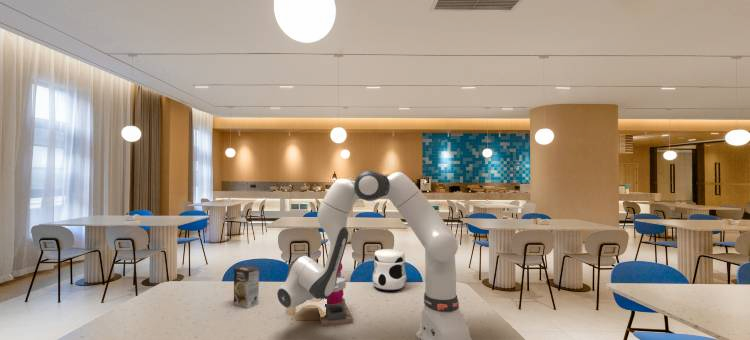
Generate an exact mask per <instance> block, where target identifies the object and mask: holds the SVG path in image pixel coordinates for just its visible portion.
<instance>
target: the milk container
mask: <svg viewBox="0 0 750 340" xmlns="http://www.w3.org/2000/svg"><path fill="white" fill-rule="evenodd" d="M373 264H374V270H373V273H372V284H373V286H374V287H375V288H377V289H378V290H380V291H386V292H387V291H388V292H393V291H399V290H402V289H404V288H405V286H406V284H407V279H408V278H407V273H406V269H405V268H406V254H405V251H404V250H400V249H395V248H383V249H377V250H375V251H374V263H373Z"/></svg>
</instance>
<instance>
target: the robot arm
mask: <svg viewBox="0 0 750 340" xmlns="http://www.w3.org/2000/svg"><path fill="white" fill-rule="evenodd" d="M382 197H384V198H387V199H388V200H389V201H390V202H391V203H392V205H393V206H394V207H395V208H396V210H397V212H398V213H399V214H400V215H401V217H402V218H403V220H405V221H406V223H407V224H408V226H409V227H410V228H411V230H412V232H413V233H414V234H415V236H416V237H417V239H418V241H419V243H420V244H421V245H422V246H423V248H424V260H425V263H424V266H425V269H424V274H425V275H424V276H425V284H424V293H423V303H424V305H423V306H424V307H423V308H422V310H421V311H420V318H419V319H420V320H419V329H418V331H416V332H415V333H416V334H415V337H416V338H418V340H420V339H421V340H473V339H472V337H471V334H470V332H471V331H470V328H471V325H470V322H469V321H466V320H465V318H464V314H463V313H462V312H461V311H460V302H459V299H458V295H457V270H456V269H457V268H456V254H457V252H458V249H459V243H458V239H457V237H456V235H455V234H454V232H453V230H452V229H451V228H450V226H448V225H447V223H446V222H445V221H444V219H443V218H442V217H441V216H440V215H439V213H438V212H437V211H436V209H435V208H434V206H433V205H432V203H430V201H429V200H428V199H427V197H426V196H425V195H424V193H422V191H421V190H420V189H419V187H418V186H417V185H416V184H415V183H414V182H413V181H412V180H411V179H410V178H409V177H408V176H407V175H406V174H405V173H403V172H401V171H396V172H393V173H391V174H389V175H388V176H386V175H385V174H381V173H379V172H377V171H373V170H365V171H362V172H360V173H359V174H358V175H357V176H356V178H355V180H349V179H347V178H338V179H336V180H335V181H334V182H333V183H332V185H331V186H330V187H329V189H328V190H327V191H326V194H325V195H324V197H323V199H322V201H321V204H319V206H318V207H319V208H318V211H317V215H316V216H317V217H316V218H317V221H318V223H319V225H320V227H321V229H322V230H323V232H325V235H326V236H327V238H328V240H329V243H330V247H329V248H330V249H329V252H328V254H327V255H328V256H327V257H326V262H325V265H324V266H322V265H321V264H320V263H318V262H317V261H316V260H314V259H312V258H311V257H309V256H307V255H300V256H298V257H296V258H294V259H293V260H292V261H291V263H289V266H288V268H287V269H288V270H287V275H286V280H285V281H284V282H283V284H282V285H281V286H280V287H279V288H278V290H277V293H276V295H277V300H278V302H279V303H280V304H281V305H282V306H283V307H285V308H287V309H291V308H296V307H298V306H300V305H303V304H304V303H306V302H307V301H311V300H312V299H314V298H315V299H316V300H317V299H318V300H320V299H322V298H326V297H328V296H330V295H331V293H332V292H337V291H340V290H342V289H343V290H344V289H345V288H346V286H347V281H346V278H345V276H344V275H343V276H342V275H341V276H340V277H339V278H338V277H337V274H338V271H339V267H340V264H341V263H342V260H343V256H344V254H345V251H346V247H347V243H348V239H349V231H348V227H347V224H348V223H347V222H348V218H349V216H350V213H351V210H352V208H354V207H353V206H354V205H355V203H356V202H357V201H359V200H364V201H366V202H375V201H378V200H379V199H380V198H382Z"/></svg>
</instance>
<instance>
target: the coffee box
mask: <svg viewBox="0 0 750 340" xmlns="http://www.w3.org/2000/svg"><path fill="white" fill-rule="evenodd" d="M259 284H260V268H259V267H257V266H256V267H255V266H252V265H251V266H249V265H241V266H238V267H234V268H233V305H234V306H237V307H241V308H243V309H244V308H246V309H251V308H252V307H254V306H255V307H256V306H257V305H259V290H260V289H259V288H260V287H259V286H260V285H259Z"/></svg>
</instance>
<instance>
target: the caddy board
mask: <svg viewBox="0 0 750 340" xmlns="http://www.w3.org/2000/svg"><path fill="white" fill-rule="evenodd" d="M322 299H324V298H322ZM322 299H319V300H322ZM325 299H327V302H328V297H326V298H325ZM341 299H342V302H341V303H338V304H325V307H326V315H325V316H324V317H321V319H320V318H319V321H320V324H321V327H325V326H326V327H327V326H328V327H329V326H336V325H344V324H345V325H346V324H352V323H354V318H353V316H352V314H351V312H350V310H349V308H348V306H347V304H346V299H345V297H344V296H343V297H342V298H341Z"/></svg>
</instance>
